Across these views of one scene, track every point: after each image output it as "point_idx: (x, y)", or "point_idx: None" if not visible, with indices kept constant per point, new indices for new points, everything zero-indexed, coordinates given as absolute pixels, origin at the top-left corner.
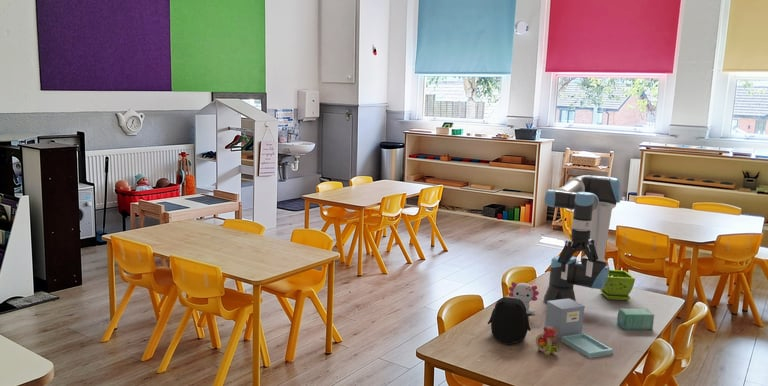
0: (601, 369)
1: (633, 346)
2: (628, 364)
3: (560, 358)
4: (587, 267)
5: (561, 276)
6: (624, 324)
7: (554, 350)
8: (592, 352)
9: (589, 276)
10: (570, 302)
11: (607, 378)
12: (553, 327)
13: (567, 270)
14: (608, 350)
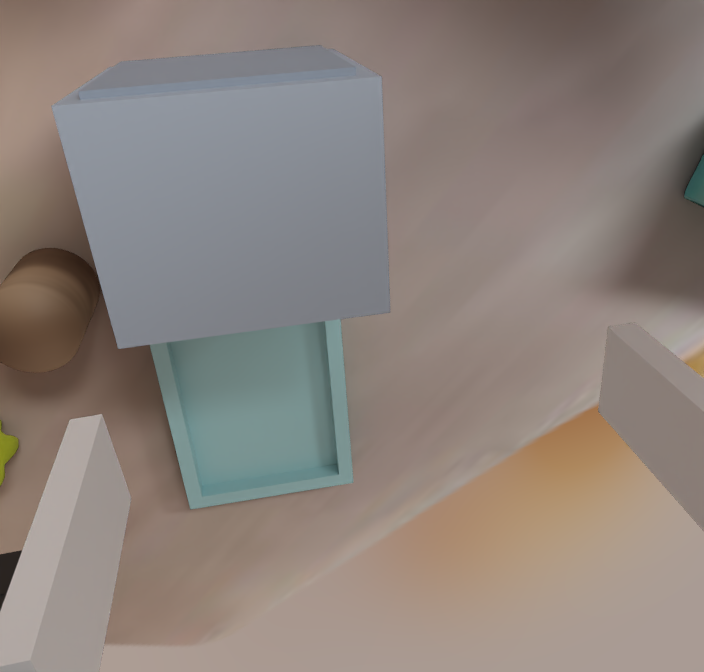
0: (185, 581)
1: (525, 404)
2: (347, 552)
3: (22, 479)
4: (690, 429)
5: (65, 449)
6: (700, 205)
7: (2, 440)
8: (213, 502)
9: (600, 404)
10: (312, 201)
11: (163, 639)
12: (53, 317)
13: (104, 635)
14: (321, 487)
